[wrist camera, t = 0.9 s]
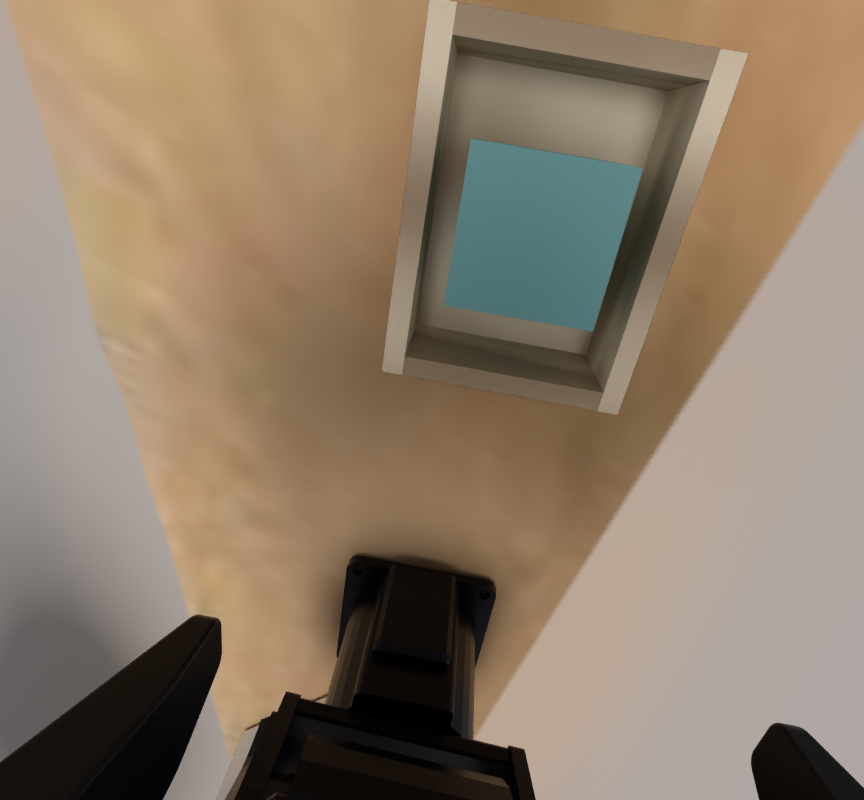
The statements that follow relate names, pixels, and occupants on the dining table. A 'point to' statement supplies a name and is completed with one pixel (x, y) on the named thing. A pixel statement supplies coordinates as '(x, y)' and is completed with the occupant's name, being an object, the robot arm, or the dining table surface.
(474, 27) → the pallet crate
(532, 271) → the cargo block
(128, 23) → the dining table surface
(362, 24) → the dining table surface
